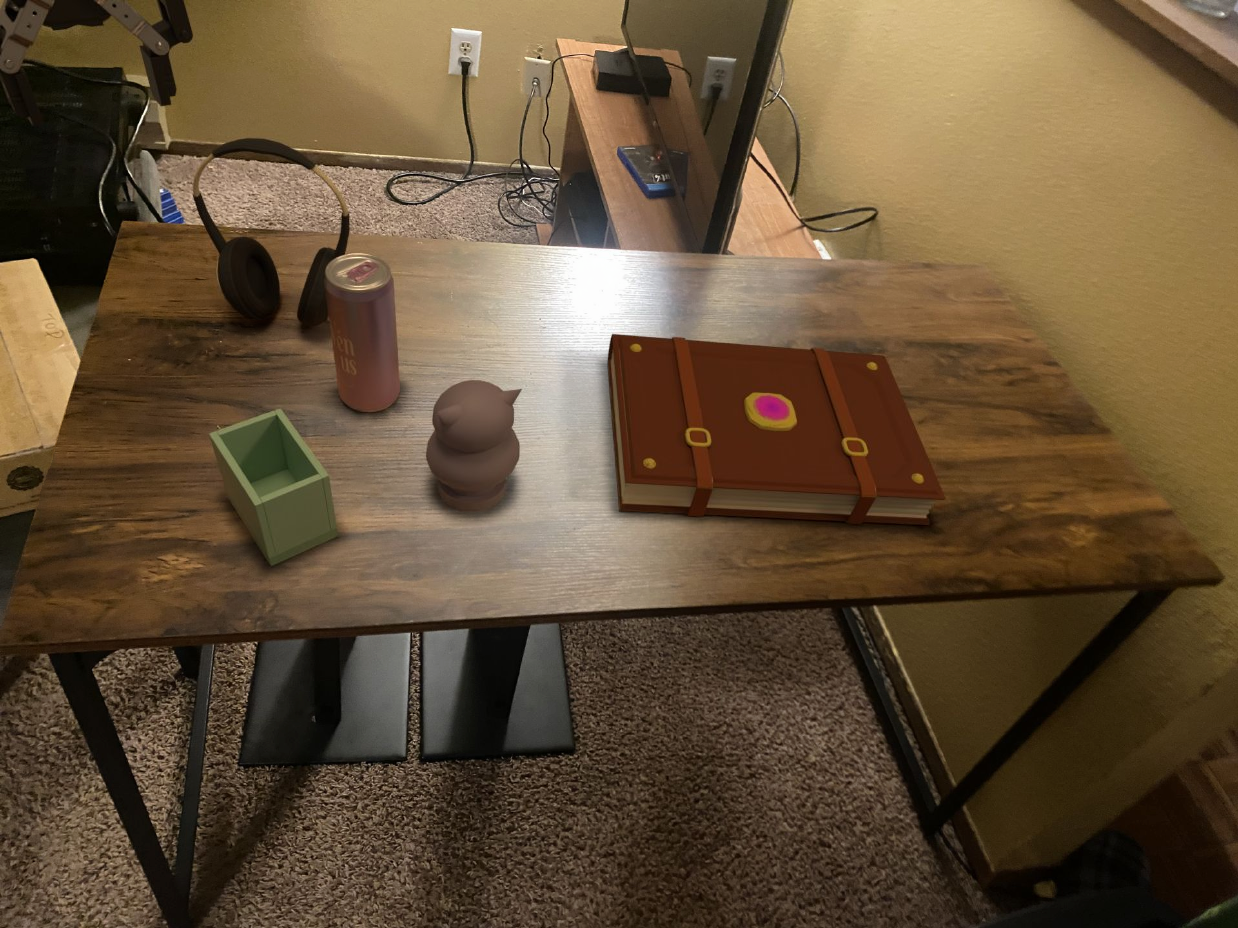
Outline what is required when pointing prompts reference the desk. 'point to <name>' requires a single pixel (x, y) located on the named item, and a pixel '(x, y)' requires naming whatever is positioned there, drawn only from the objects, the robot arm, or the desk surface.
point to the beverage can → (363, 330)
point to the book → (764, 433)
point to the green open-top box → (275, 485)
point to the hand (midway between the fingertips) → (101, 110)
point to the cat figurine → (473, 444)
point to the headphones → (249, 264)
